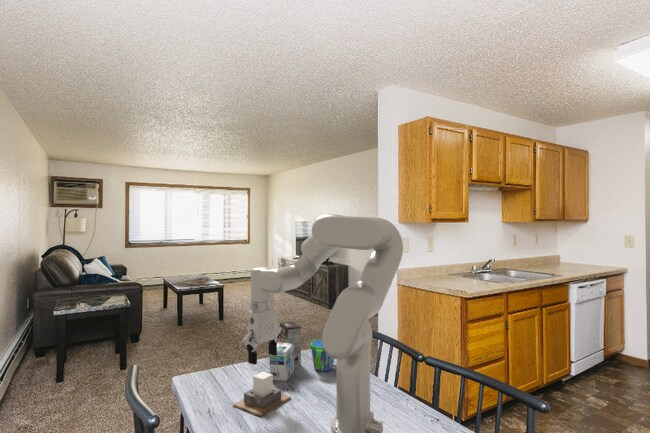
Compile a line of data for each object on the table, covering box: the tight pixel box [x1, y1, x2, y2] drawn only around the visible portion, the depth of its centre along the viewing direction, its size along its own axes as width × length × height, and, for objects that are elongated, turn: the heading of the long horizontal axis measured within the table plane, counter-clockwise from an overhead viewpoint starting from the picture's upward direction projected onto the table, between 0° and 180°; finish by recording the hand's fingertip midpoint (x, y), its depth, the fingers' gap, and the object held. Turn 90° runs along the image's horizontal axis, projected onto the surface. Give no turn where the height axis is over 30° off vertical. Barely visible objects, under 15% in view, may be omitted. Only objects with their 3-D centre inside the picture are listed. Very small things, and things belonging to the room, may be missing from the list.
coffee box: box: [279, 321, 302, 368], centre depth 151 cm, size 9×6×16 cm
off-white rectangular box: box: [252, 371, 274, 398], centre depth 117 cm, size 4×4×8 cm
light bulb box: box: [269, 342, 295, 382], centre depth 139 cm, size 11×7×11 cm, turn 168°
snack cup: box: [309, 338, 335, 373], centre depth 145 cm, size 16×11×10 cm
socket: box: [233, 387, 292, 418], centre depth 117 cm, size 12×14×3 cm
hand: (263, 359), depth 118 cm, fingers open, 8 cm apart
